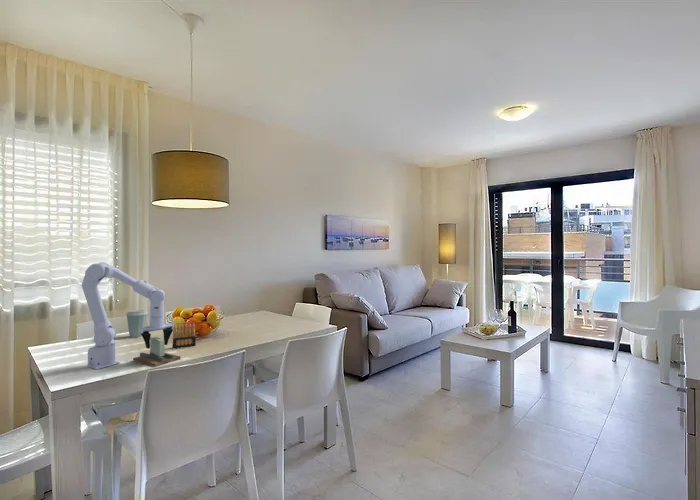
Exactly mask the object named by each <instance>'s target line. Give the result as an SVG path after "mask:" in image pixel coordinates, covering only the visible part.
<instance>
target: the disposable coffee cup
mask: <svg viewBox="0 0 700 500" xmlns="http://www.w3.org/2000/svg"><path fill="white" fill-rule="evenodd" d="M148 314H149V311H148V309H134V310H133V309H132V310H128V311H127V312H126V315H125V316H126V320H127V326H128V327H127V328H128V334H129V338H132V339H135V338H143V337H142V335H141V333H139V328H144V327H146V323H147V316H148Z"/></svg>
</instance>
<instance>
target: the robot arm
mask: <svg viewBox="0 0 700 500" xmlns="http://www.w3.org/2000/svg"><path fill="white" fill-rule="evenodd" d="M84 272H85V273H84V277H83V280H82V282H81V289H82V292H83V294H84V298H85V300H86V303H87V307H88V309H89V312H90V315H91V319H92V321H93V324H94V325H93V327H94V328H93V333H94V335H93V336H94V337H93V341H94V343H95V344H94V345H93V346H91V347H89V348H88V350H87V365H86V367H88V368H91V369H93V370H101V369H103V368H107V367H111V366H115V365H118V364H120V363H121V362H120V361H117V360H116V340H115V338H116V336H117V330H116V329H115V328H114V327H113V325H112V322H111V321H110V320H109V318H108V315H107V312H106V309H105V307H104V302H103V300H102V297H101V293H100V290H99V288H98V286H99V284H100V282H101V281H102V280H103V279H107V278H108V279H109V278H112V279H113V278H114V279H116V280H118V281H120V282H122V283H124V284H126V285H129V286H130V287H132V290H133V292H135V293H137V294H138V295H140V296H141V297H144V298H146V299H148V300H149V302H150V307H149V326H145V327H144V328H139V333H141V335H142V337H141V338H142V339H143V341H144V344H145V348H146V349H150V337H152V336H151V335H152V334H151V333H150V332H155V331H162V332H163V340H164V346H167V345H168V343H169V340H170V337H171V335H172V334H173V328H174V324H175V323H165V300H164V299H165V297H166V293H165V291H164V290H163V289H161V288H158V286H154V285H152V284H150V283H148V282H149V281H148V280H146V279H145V280H143V279H140V280H137V279H136V278H134V277H132V276H130V275H129V274H128V273H126V272H124V271H123V270H120V269H119V268H117V267H116V266H114V265H109V264H108V263H107V262H105V261H104V262H97V263H95V262H94V263H92V264H91V265H89V266H88V268H86V270H85V271H84Z"/></svg>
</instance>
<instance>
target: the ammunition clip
mask: <svg viewBox="0 0 700 500" xmlns="http://www.w3.org/2000/svg"><path fill="white" fill-rule="evenodd" d="M173 324H174V328H172V329H173V332H172V349H173V348H174V349H181V347H182V348H187V347H196V345H197V344H196V343H197V342H196V328H195V327H196V325H195V322H193V323H192V324H191V322H189V323H188V324H187V323H185V324H183V323H181V327H180V323H179V324H177V327H176V323H173Z"/></svg>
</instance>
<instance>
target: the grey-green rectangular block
mask: <svg viewBox="0 0 700 500" xmlns="http://www.w3.org/2000/svg"><path fill="white" fill-rule="evenodd" d="M149 349H150V350H149V354H150V353H153V354H155V355H157V356H159V357H161V356H164V353H165V345H164V338H163V339H162V338H160V337H157V336H155V335H154V336H150V348H149Z"/></svg>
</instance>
